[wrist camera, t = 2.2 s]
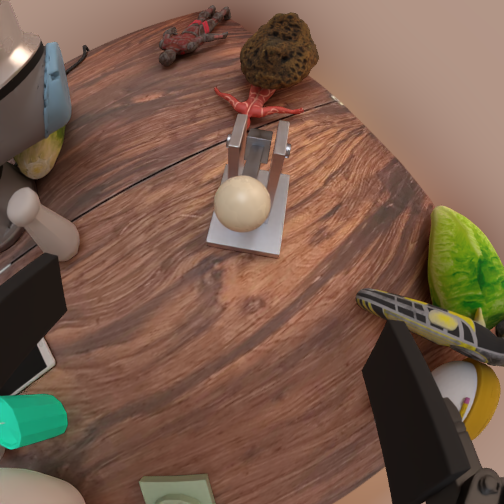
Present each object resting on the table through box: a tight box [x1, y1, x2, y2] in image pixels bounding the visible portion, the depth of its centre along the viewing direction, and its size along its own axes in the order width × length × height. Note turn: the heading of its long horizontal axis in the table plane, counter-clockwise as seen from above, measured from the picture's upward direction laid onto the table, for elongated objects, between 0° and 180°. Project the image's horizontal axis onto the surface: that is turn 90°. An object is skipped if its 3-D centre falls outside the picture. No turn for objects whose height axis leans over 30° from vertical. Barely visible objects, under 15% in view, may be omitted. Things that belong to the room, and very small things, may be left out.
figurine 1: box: [159, 5, 231, 66], centre depth 53 cm, size 14×5×30 cm
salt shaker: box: [7, 187, 80, 261], centre depth 29 cm, size 6×6×13 cm
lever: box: [214, 128, 273, 232], centre depth 23 cm, size 14×4×4 cm, turn 171°
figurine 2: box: [214, 84, 304, 129], centre depth 45 cm, size 16×4×20 cm
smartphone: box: [0, 337, 55, 396], centre depth 28 cm, size 8×1×15 cm
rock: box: [240, 13, 319, 90], centre depth 41 cm, size 13×12×20 cm
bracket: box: [206, 114, 291, 258], centre depth 32 cm, size 12×9×15 cm
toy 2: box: [374, 357, 500, 440], centre depth 26 cm, size 14×11×15 cm
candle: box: [0, 394, 68, 450], centre depth 21 cm, size 6×6×12 cm
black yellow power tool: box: [356, 288, 504, 366], centre depth 25 cm, size 14×26×10 cm
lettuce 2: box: [428, 206, 504, 330], centre depth 32 cm, size 14×20×12 cm
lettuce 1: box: [13, 125, 66, 179], centre depth 36 cm, size 12×21×11 cm, turn 27°
